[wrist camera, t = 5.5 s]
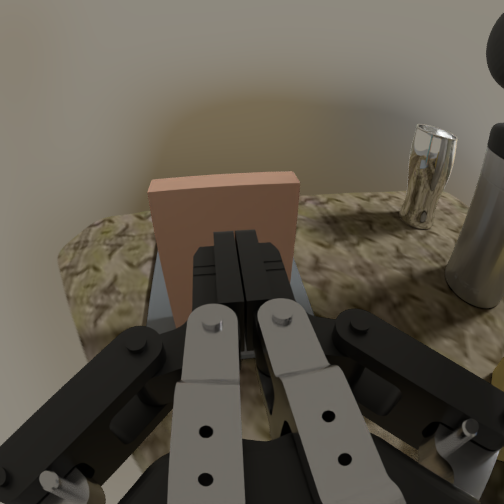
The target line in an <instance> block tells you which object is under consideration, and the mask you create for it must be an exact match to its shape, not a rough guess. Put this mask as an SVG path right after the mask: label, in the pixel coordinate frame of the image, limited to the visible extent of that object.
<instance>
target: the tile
mask: <svg viewBox="0 0 504 504" xmlns="http://www.w3.org/2000/svg"><path fill="white" fill-rule="evenodd" d="M299 192H300V182H299V180H298V178H297V177H296V175H295V174H294V172H293V171H292V172H291V171H289V172H256V173H234V174H218V175H204V176H203V175H202V176H189V177H177V178H167V179H155V180H152V181H151V184H150V187H149V189H148V199H149V205H150V210H151V216H152V222H153V227H154V232H155V237H156V242H157V247H158V252H159V257H160V262H161V267H162V271H163V276H164V280H165V285H166V289H167V293H168V298H169V302H170V306H171V310H172V314H173V318H174V322H175V326H176V328H178V327H180V326H181V325H183V324H184V323H185V322H186V321H187V320H188V317H189V315H190V314H191V313H192V289H193V256H194V254H195V253H196V251H197V250H198V248H199V247H205V246H214V236H213V232H221V231H233V232H234V238H235V231H236V230H252V229H255V230H256V234H257V238H258V242H259V243H266V242H271V243H272V244H273V245H274V246H275V247H276V248H277V249H278V250H279V252H280V255H281V258H282V262H283V264H284V267H285V270H286V273H287V276H288V279H289V282H290V280H291V272H292V263H293V254H294V244H295V234H296V224H297V214H298V203H299Z"/></svg>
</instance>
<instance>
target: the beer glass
mask: <svg viewBox="0 0 504 504" xmlns="http://www.w3.org/2000/svg"><path fill="white" fill-rule="evenodd" d="M457 140H458V138H457V136H455V135H454V134H452V133H450V132H448V131H446V130H443V129H440V128H437V127H434V126H430V125H424V124H417V127H416V131H415V134H414V139H413V142H412V146H411V152H410V157H409V166H408V185H407V193H406V197H405V200H404V203H403V205H402V207H401V209H400V211H399V217H400V218H401V220H402V221H403V222H405V223H406V224H408V225H410V226H412V227H414V228H418V229H429V228H431V227H432V226H433V222H434V215H435V209H436V205H437V203H438V200H439V198H440V196H441V194H442V192H443V190H444V187H445V186H446V183H447V181H448V179H449V176H450V174H451V171H452V167H453V163H454V158H455V154H456V147H457Z"/></svg>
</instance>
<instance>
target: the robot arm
mask: <svg viewBox="0 0 504 504" xmlns="http://www.w3.org/2000/svg"><path fill="white" fill-rule="evenodd" d="M486 57H487V64H488V68H489V70H490V73H491V75H492V77H493V78H494V79H495V81H496V82H497V83H498V84H499V85H500V86H501V87H502V88H504V13H503V14H502V15H501V17H499V19H498V20H497V21H496V23H495V25H494V26H493V28H492V31H491V33H490V36H489V39H488V43H487V50H486ZM213 236H214V246H205V247H199V248H198V250H197V251H196V253H195V254H194V256H193V289H192V313H191V314H190V315H189V317H188V320H187V321H186V322H185V323H184V324H183V325H181V326H180V327H178V328H176V329H174V330H171V331H168V332H165V333H162V334H159V333H158V332H157V331H155V330H154V329H152V328H150V327H146V326H135V327H131V328H129V329H127V330H125V331H123V332H122V333H121V334H119V335H118V336H117V337H116V338H115V339H114V340H113V341H112V342H111V343H110V344H108V345H107V346H106V347H105V348H104V349H103V350H102V351H101V352H100V353H99V354H97V355H96V356H95V357H94V358H93V359H92V360H91V361H90V362H89V363H88V364H87V365H85V366H84V368H82V369H81V370H80V371H79V372H78V373H77V374H76V375H75V376H74V377H73V378H71V379H70V380H69V381H68V382H67V383H66V384H65V385H64V386H63V387H62V388H61V389H60V390H59V391H58V392H56V394H54V395H53V396H52V397H51V398H50V399H49V400H48V401H47V402H46V403H45V404H44V405H43V406H42V407H41V408H40V409H39V410H37V412H35V413H34V414H33V415H32V416H31V417H30V418H29V419H28V420H27V421H26V422H25V423H24V424H23V425H22V426H21V427H20V428H19V429H18V430H17V431H16V432H15V433H14V434H13V435H12V436H11V437H10V438H9V439H7V440H6V441H5V442H4V443H3V444H2V445H1V446H0V502H2V503H4V504H105V503H106V502H105V501H106V499H105V494H104V491H103V489H102V488H101V486H102V485H103V484H104V483H105V481H106V480H108V478H109V477H110V476H111V475H112V474H113V473H114V472H115V471H116V470H117V469H118V468H119V467H120V466H121V465H122V464H123V463H124V462H125V460H126V459H127V458H128V457H129V456H130V455H131V454H132V453H133V452H134V451H135V450H136V449H137V447H138V446H139V445H140V444H141V443H142V442H143V441H144V440H145V439H146V438H147V436H148V435H149V434H150V433H151V432H152V431H153V430H154V429H155V428H156V426H157V425H158V424H159V423H160V422H161V421H162V420H163V419H164V418H165V416H166V415H167V414H168V413H169V412H170V411H171V410H172V408H173V416H172V429H171V442H170V453H168V454H166V455H164V456H162V457H161V458H159V459H158V460H156V461H155V462H154V463H153V464H152V465H150V466H149V467H148V468H147V469H146V471H145V472H144V473H143V474H142V475H141V477H140V478H139V479H138V480H137V481H136V483H135V484H134V485H133V486H132V487H131V488H130V490H129V491H128V492H127V493H126V494H125V496H124V497H123V498H122V499H121V500H120V501H119V503H118V504H481V502H480V501H479V499H480V497H481V495H482V493H483V491H484V488H485V486H486V484H487V482H488V479H489V477H490V474H491V472H492V470H493V467H494V464H495V462H496V459H497V457H498V454H499V451H500V450H501V448H503V447H504V392H503V391H502V390H500V389H498V388H497V387H495V386H493V385H492V384H490V383H488V382H487V381H485V380H483V379H482V378H480V377H478V376H476V375H475V374H473V373H471V372H470V371H468V370H466V369H465V368H463V367H461V366H460V365H458V364H456V363H455V362H453V361H451V360H450V359H448V358H446V357H444V356H443V355H441V354H439V353H438V352H436V351H434V350H433V349H431V348H429V347H428V346H426V345H424V344H423V343H421V342H419V341H417V340H416V339H414V338H412V337H411V336H409V335H407V334H406V333H404V332H402V331H400V330H399V329H397V328H395V327H394V326H392V325H390V324H389V323H387V322H385V321H383V320H382V319H380V318H378V317H377V316H375V315H373V314H371V313H370V312H368V311H365V310H362V309H348V310H345V311H343V312H342V313H340V314H339V316H338V317H337V319H329V318H322V317H316V316H313V315H311V314H308V313H307V312H306V311H305V310H304V308H303V307H302V306H301V305H300V304H299V303H297V302H296V300H295V297H294V294H293V291H292V288H291V285H290V282H289V279H288V276H287V273H286V270H285V267H284V264H283V262H282V258H281V255H280V252H279V250H278V249H277V248H276V247H275V246H274V245H273V244H272V243H271V242H266V243H259V242H258V238H257V234H256V230H255V229H252V230H236V231H235V238H234V232H233V231H221V232H213ZM445 277H446V281H447V282H448V284H449V286H450V287H451V289H452V290H453V291H454V292H455V293H456V294H457V295H458V296H459V297H460V298H462V299H463V300H464V301H466V302H468V303H469V304H472V305H474V306H477V307H481V308H492V307H494V306H496V305H497V304H498V303H499V302H500V300H501V299H502V297H503V295H504V123H498V124H495V125H494V126H493V127H492V129H491V132H490V136H489V140H488V146H487V149H486V153H485V158H484V161H483V165H482V169H481V173H480V176H479V180H478V183H477V186H476V189H475V192H474V196H473V199H472V202H471V205H470V208H469V210H468V213H467V216H466V219H465V222H464V224H463V227H462V230H461V232H460V235H459V238H458V240H457V243H456V245H455V247H454V250H453V252H452V255H451V257H450V259H449V262H448V264H447V266H446V269H445ZM245 343H246V350H247V351H253V350H254V353H255V359H256V367H255V370H256V375H257V379H258V382H259V386H260V390H261V394H262V398H263V401H264V405H265V409H266V412H267V416H268V421H269V428H270V436H271V441H255V440H247V439H242V427H241V403H240V378H239V372H240V370H241V352H244V351H245ZM362 415H363V416H365V417H366V418H368V419H369V420H371V421H372V422H374V423H375V424H377V425H379V426H380V427H382V428H383V429H385V430H386V431H388V432H390V433H391V434H393V435H394V436H396V437H398V438H399V439H401V440H402V441H404V442H406V443H407V444H409V445H411V446H412V447H414V448H416V449H417V450H418V457H419V459H418V462H416V461H415V460H413V459H412V458H410V457H409V456H407V455H406V454H404V453H403V452H401V451H400V450H398V449H397V448H395V447H394V446H392V445H391V444H389V443H388V442H386V441H385V440H383V439H382V438H380V437H378V436H376V435H374V434H372V433H370V432H369V430H368V428H367V425H366V423H365V421H364V419H363V416H362Z"/></svg>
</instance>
